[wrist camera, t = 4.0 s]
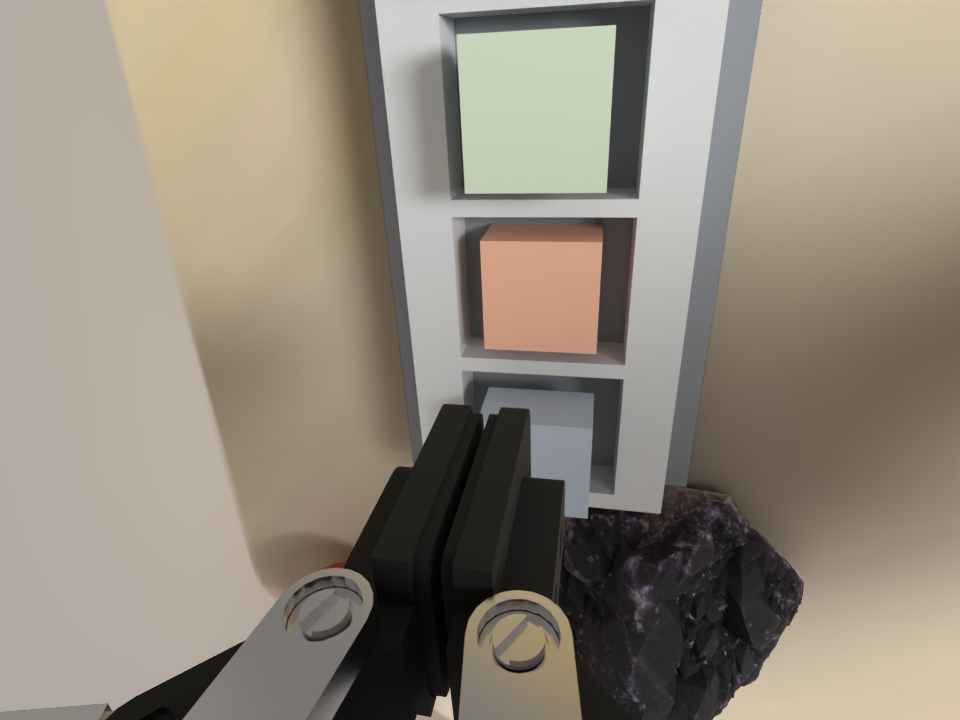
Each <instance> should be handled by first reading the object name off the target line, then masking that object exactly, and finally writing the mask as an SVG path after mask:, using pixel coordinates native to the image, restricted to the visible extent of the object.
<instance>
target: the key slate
mask: <svg viewBox="0 0 960 720" xmlns="http://www.w3.org/2000/svg"><path fill="white" fill-rule="evenodd" d="M501 407H509V408H526V409H529V410H530V424H531V477H532V478H544V479H556V480H565V513H564V516H565V517H575V518H585V519H588V505H589V487H590V470H591V453H592V435H593V407H594V393H581V392H564V391H547V390H530V389H513V388H496V387H489V388H488V391H487V394H486V397H485V400H484V403H483V405H482V408H481V411H480V413H482V415H483V421H484V428H485V425H486V422H487V419H488V416H489V414H499V410H500V408H501Z"/></svg>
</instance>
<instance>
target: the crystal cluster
mask: <svg viewBox="0 0 960 720" xmlns="http://www.w3.org/2000/svg"><path fill="white" fill-rule="evenodd" d="M803 586H804V582H803V581H802V580H801V578H800V577H799V576H798V575H797V574H796V572H795V570H794V569H793V568H792V567H791V566H790V564H789V563H788V561H786V560H785V559H783V558H782V557H781V556H779V555H778V553H777V552H776V551H775V549H774V548H773V547H772V546H771V545H770V544H769V542H768V541H767V540H766V538H764V537H763V536H761V535H760V534H759V533H758V532H757V531H756V530H754V529H752V528H750V527H749V522H748V521H747V519H746V518H745V516H744V515H743V514H742V512H741V510H740V509H739V507H738V506H737V504H736V502H735V501H734V499H733V497H732V496H731V495H730V494H726V493H715V492H710V491H706V490H697V489H692V488H687V487H683V486H677V485H664V493H663V500H662V508H661V514H658V513H647V512H637V511H626V510H616V509H606V508H595V507H588V519H585V518H575V517H571V518H570V520H569V521H568V523H567V524H566V525H565V526H564V536H563V552H562V564H561V575H560V586H559V598H558V606H559V607H560V609H561V610H562V612H563V613H564V614H565V616H566V617H567V619H568V621H569V624H570V628H571V631H572V635H573V644H574V653H575V657H576V658H577V659H578V660H579V661H580V662H581V663H582V664H583V665H584V666H585V667H586V669H587V670H588V671H589V672H590V673H591V674H592V675H593V676H594V677H595V678H596V679H597V681H598V682H599V683H600V684H601V685H602V686H603V687H604V688H605V689H606V690H607V691H608V693H609V694H610V695H611V696H612V697H613V698H614V699H615V700H616V701H617V702H618V704H619V705H620V706H621V707H622V708H623V709H624V710H625V711H626V712H627V713H628V714H629V716H630V717H631V718H632V719H633V720H713V718H714V717H715V716H717V715H719V714H720V713H721V712H722V710H723V709H724V708H725V707H726V706H727V704H728V702H729V701H730V699H731V698H733V697H734V693H735V691H736V690H737V689H738V688H740V687H741V686H746V685H748V684H750V683H752V682H753V681H755V680H756V679H757V678H758V676H759V672H760V670H761V668H762V665H763V663H764V661H765V660H766V658H768V657H769V655H770V653H771V651H772V650H773V649H774V648H775V646H776V644H777V642H778V639H779V637H780V636H781V634H782V633H783V631H784V630H785V628H786V626H787V625H788V626H789V625H790V623H791V621H792V619H793V617H794V615H795V613H797V612H798V611H797V608H798V605H800V604H801V600H802V596H803Z"/></svg>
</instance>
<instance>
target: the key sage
mask: <svg viewBox="0 0 960 720" xmlns="http://www.w3.org/2000/svg"><path fill="white" fill-rule="evenodd" d="M456 36H457V54H458V73H459V92H460V110H461V129H462V148H463V167H464V185H465V194H506V193H607V176H608V158H609V141H610V124H611V106H612V89H613V72H614V54H615V37H616V25H607V26H591V27H574V28H557V29H541V30H524V31H507V32H490V33H474V34H457V35H456Z"/></svg>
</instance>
